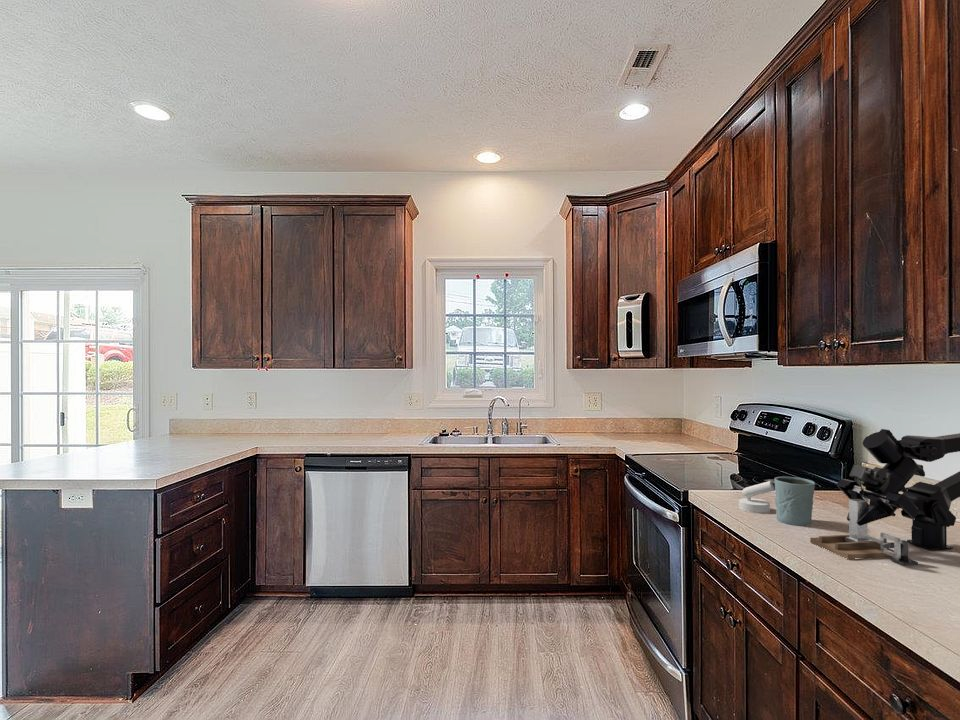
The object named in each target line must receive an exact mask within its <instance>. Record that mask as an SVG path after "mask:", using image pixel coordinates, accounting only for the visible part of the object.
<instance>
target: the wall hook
mask: <svg viewBox="0 0 960 720" xmlns="http://www.w3.org/2000/svg"><path fill="white" fill-rule="evenodd" d="M775 491H776V490H775V485H774V484H773V482H772V481H771V480H768V481H766V482H765V481H764V482H761V483H758V484H754V485H753V484H752V485H750V486H746V487H744V488H743V489H742V492H741V493H742V495H743V496H744V497H742V498H739V499H738V509H739V510H741V511H743V512H747V513H752V514H768V513H770V511H771V507H770V506H771V504H770V502H769V501H768V500H765V499H760V498H755V496H759V495H763V494H767V493H771V492H775Z"/></svg>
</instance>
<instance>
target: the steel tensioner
mask: <svg viewBox="0 0 960 720" xmlns="http://www.w3.org/2000/svg"><path fill="white" fill-rule="evenodd" d="M866 508H867V501H864V500H860V499H849V498H848V513H849V521H848V527H849V528H848V535H849V537H845V541H846V542H867V541H874V542H877V543H879V544H881V552H883V553H885V554H887V555H890V556H892V557H895V558H897V559H899V558H901V540H902V539H901V538H900V537H896V536H894V535H890V534H888V533H886V532H880V538H879V537H876V536H873V535H870V534H869V533H868V523H867V524H864V525H861V526H859V525H858V524H857V521H858V519H859V517H860V516H861V515H862V514H863V512H864V511H865V510H866ZM868 539H869V540H868ZM887 540H889V541H892V542H894V548H893V550H894V552H892V551H890V550H887V548H884V547H883V546H882V544H883V543H888V541H887Z"/></svg>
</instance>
